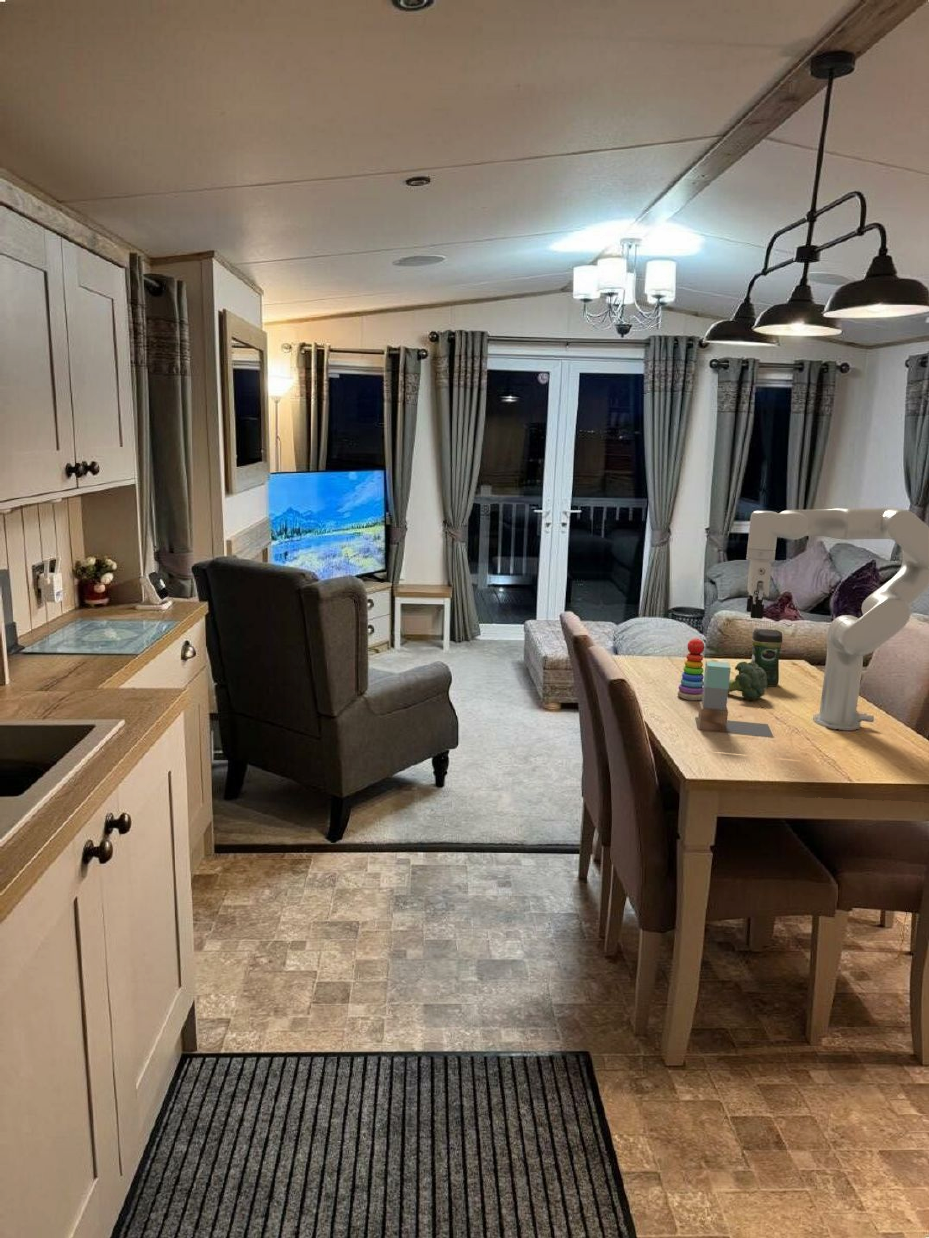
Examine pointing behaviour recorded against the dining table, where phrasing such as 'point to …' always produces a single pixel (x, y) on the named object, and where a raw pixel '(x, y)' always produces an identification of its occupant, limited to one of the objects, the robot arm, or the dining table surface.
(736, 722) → the mat
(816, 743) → the dining table surface
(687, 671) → the stacking toy
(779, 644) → the coffee jar
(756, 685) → the vegetable
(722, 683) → the teal cube
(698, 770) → the dining table surface
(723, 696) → the tower mid
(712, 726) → the tower base
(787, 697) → the dining table surface
